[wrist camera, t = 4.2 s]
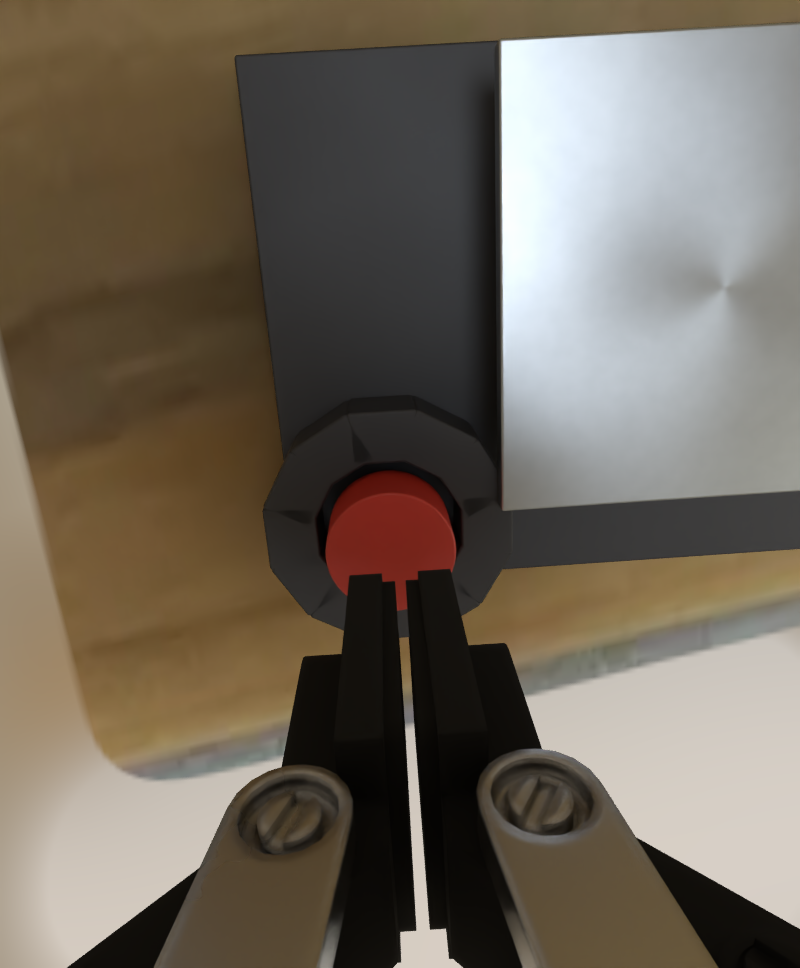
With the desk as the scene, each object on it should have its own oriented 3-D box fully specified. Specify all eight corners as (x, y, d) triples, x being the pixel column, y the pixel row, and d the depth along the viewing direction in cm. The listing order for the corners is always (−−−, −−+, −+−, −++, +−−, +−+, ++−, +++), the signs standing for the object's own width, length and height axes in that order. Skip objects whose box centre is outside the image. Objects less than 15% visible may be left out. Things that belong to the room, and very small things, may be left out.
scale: (295, 587, 19) (280, 647, 16) (230, 73, 14) (195, 29, 12) (822, 551, 19) (900, 603, 16) (911, 34, 15) (1040, -18, 12)
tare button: (335, 583, 16) (331, 616, 14) (324, 473, 15) (319, 497, 13) (450, 575, 16) (458, 607, 14) (447, 465, 15) (454, 488, 13)
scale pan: (497, 504, 15) (501, 511, 14) (493, 46, 12) (498, 37, 11) (884, 477, 15) (901, 484, 15) (977, 18, 12) (1001, 9, 12)
